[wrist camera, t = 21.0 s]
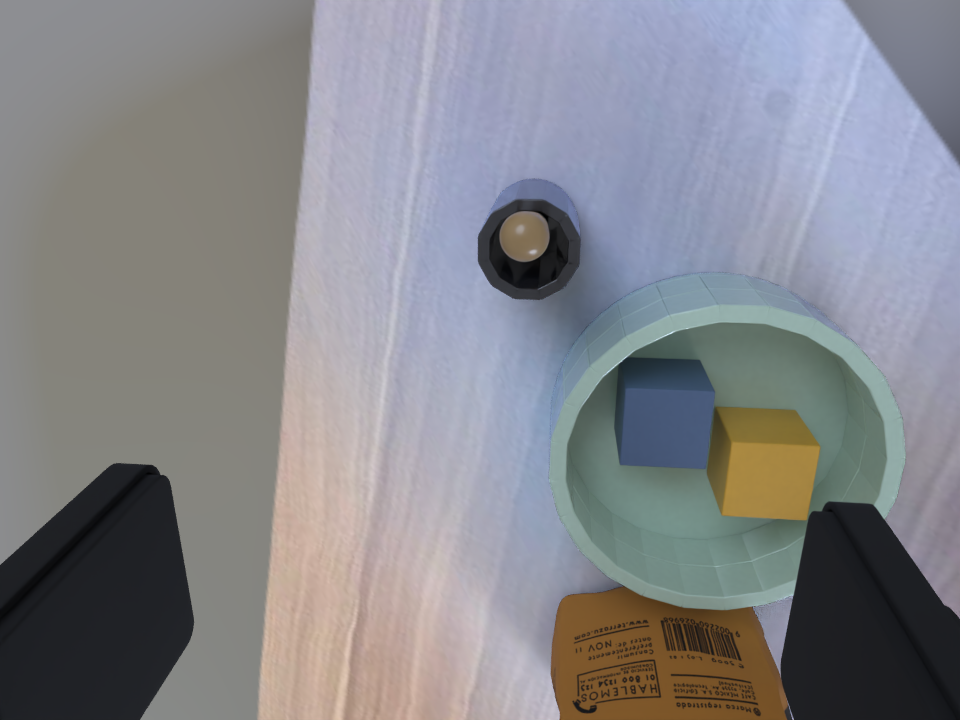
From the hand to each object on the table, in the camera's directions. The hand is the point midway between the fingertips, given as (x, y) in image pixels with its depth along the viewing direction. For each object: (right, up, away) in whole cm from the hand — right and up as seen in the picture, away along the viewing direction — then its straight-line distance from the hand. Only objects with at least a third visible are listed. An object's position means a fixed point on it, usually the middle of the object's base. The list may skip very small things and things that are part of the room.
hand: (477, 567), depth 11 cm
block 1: (+9, +1, +28) cm, 29 cm away
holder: (+3, +10, +26) cm, 27 cm away
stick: (+3, +9, +25) cm, 27 cm away
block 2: (+14, -1, +28) cm, 31 cm away
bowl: (+12, 0, +28) cm, 31 cm away
